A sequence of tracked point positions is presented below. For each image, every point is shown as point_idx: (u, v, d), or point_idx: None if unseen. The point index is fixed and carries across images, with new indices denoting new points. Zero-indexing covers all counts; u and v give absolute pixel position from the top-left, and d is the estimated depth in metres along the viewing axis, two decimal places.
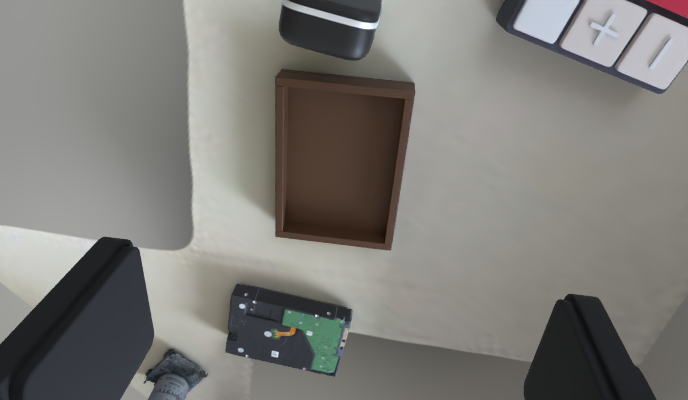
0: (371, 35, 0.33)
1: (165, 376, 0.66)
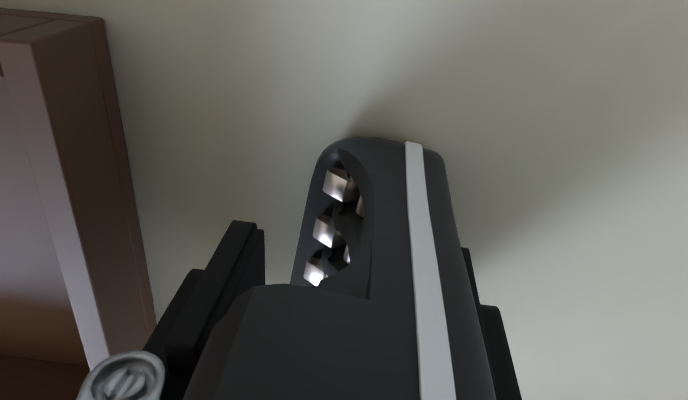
0: None
1: None
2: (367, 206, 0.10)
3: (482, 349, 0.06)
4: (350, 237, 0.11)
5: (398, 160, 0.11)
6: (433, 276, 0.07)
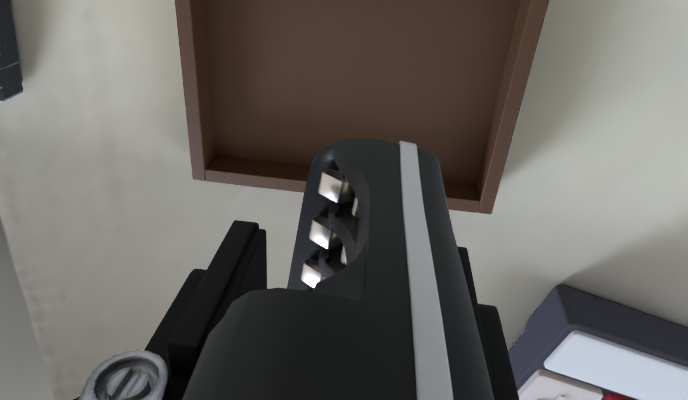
0: None
1: None
2: (362, 207, 0.10)
3: (479, 349, 0.06)
4: (346, 238, 0.11)
5: (393, 160, 0.11)
6: (429, 277, 0.07)
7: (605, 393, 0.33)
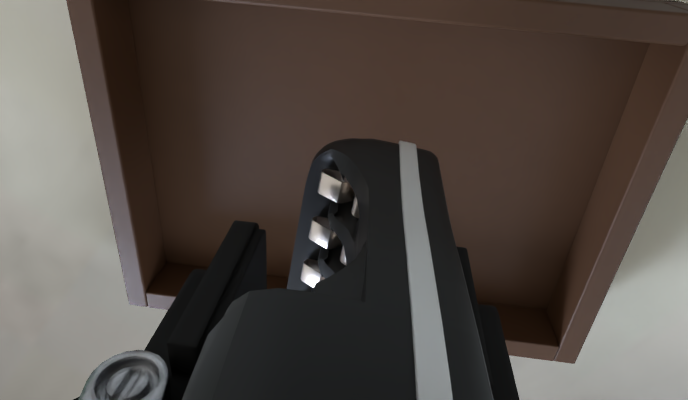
0: None
1: None
2: (362, 207, 0.10)
3: (478, 349, 0.06)
4: (346, 238, 0.11)
5: (392, 160, 0.11)
6: (429, 277, 0.07)
7: None
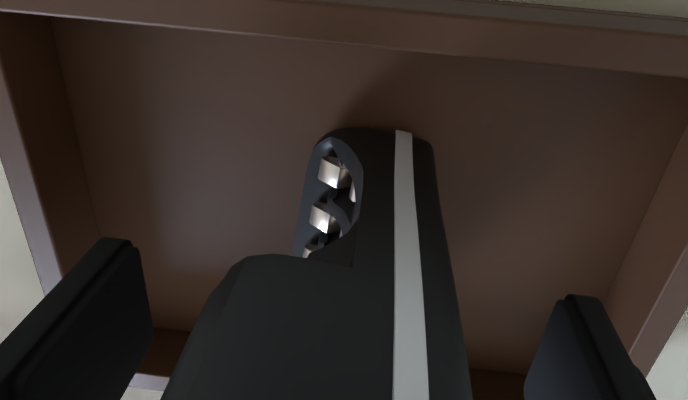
0: None
1: None
2: (357, 190, 0.11)
3: (456, 311, 0.07)
4: (343, 221, 0.12)
5: (388, 147, 0.12)
6: (414, 248, 0.08)
7: None
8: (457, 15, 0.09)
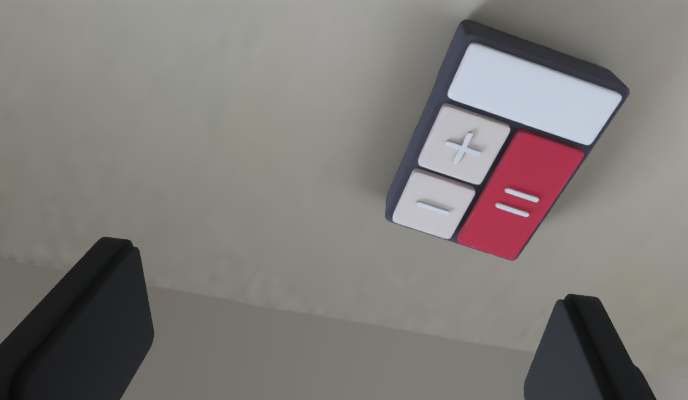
0: None
1: None
2: None
3: None
4: None
5: None
6: None
7: (513, 131, 0.32)
8: None
